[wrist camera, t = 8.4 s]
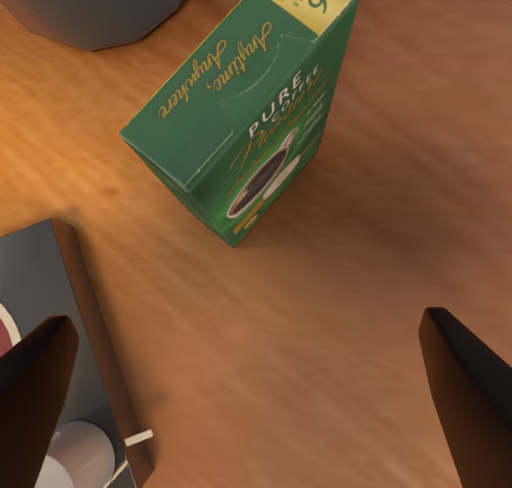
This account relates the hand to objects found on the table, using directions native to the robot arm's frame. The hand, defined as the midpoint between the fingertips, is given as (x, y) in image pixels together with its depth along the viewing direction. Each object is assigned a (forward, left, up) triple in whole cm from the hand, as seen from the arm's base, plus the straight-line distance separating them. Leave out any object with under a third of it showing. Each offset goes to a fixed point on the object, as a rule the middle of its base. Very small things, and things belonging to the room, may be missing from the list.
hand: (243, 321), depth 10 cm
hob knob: (-4, +12, -11) cm, 16 cm away
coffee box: (+7, -2, -13) cm, 15 cm away
